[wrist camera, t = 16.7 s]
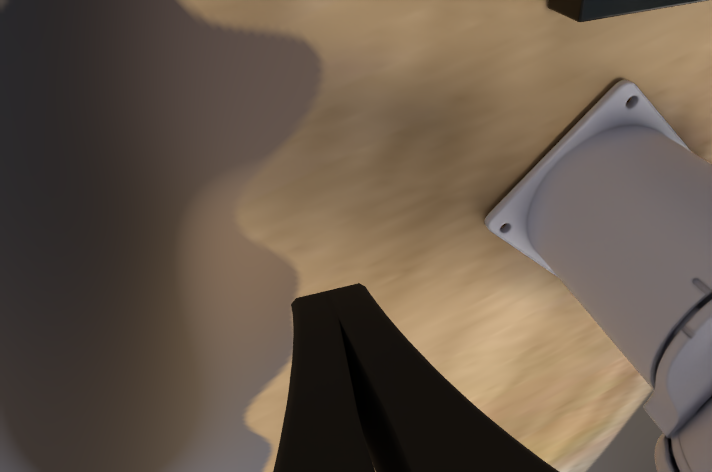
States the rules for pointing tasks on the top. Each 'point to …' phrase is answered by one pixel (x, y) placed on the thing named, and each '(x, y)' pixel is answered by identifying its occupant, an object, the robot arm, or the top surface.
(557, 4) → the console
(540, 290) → the top surface
